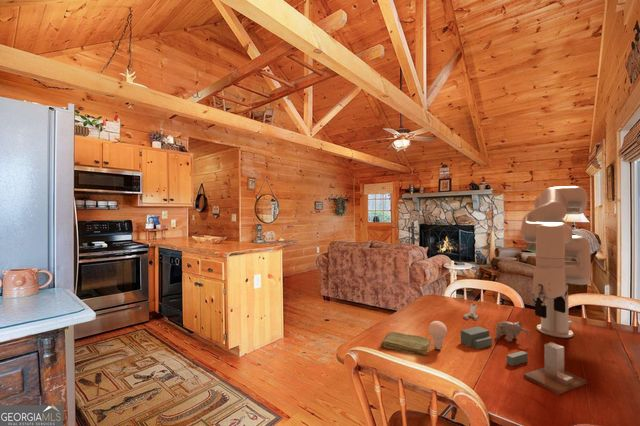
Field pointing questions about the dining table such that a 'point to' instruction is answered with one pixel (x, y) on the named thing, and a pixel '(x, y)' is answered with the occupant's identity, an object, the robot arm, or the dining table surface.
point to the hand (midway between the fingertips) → (550, 314)
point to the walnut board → (553, 385)
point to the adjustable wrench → (472, 313)
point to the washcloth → (406, 343)
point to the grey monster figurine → (509, 330)
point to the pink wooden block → (555, 363)
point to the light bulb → (437, 333)
